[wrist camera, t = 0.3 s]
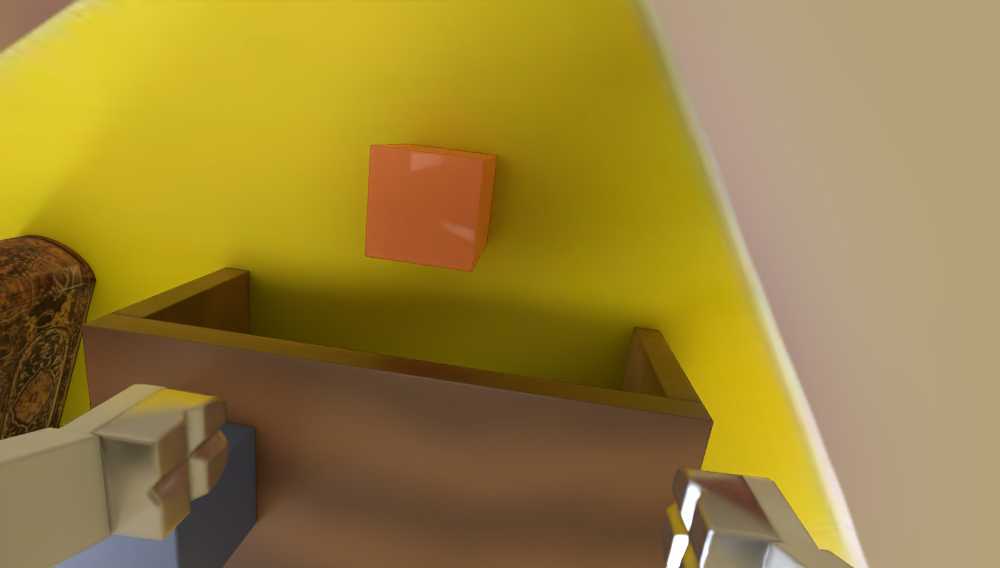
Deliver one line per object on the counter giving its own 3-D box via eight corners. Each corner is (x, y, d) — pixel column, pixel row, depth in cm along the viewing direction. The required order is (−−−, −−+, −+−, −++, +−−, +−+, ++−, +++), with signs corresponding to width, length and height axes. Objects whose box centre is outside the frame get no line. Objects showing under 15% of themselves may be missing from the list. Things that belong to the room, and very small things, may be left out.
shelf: (225, 267, 31) (80, 324, 21) (660, 330, 30) (714, 421, 20) (230, 440, 34) (106, 557, 25) (621, 504, 33) (651, 654, 23)
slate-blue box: (143, 408, 22) (32, 482, 17) (255, 426, 22) (174, 506, 17) (151, 505, 24) (50, 598, 19) (256, 523, 23) (181, 622, 19)
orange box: (406, 143, 28) (370, 144, 22) (497, 155, 28) (484, 159, 22) (400, 233, 29) (364, 256, 24) (486, 245, 29) (471, 271, 23)
